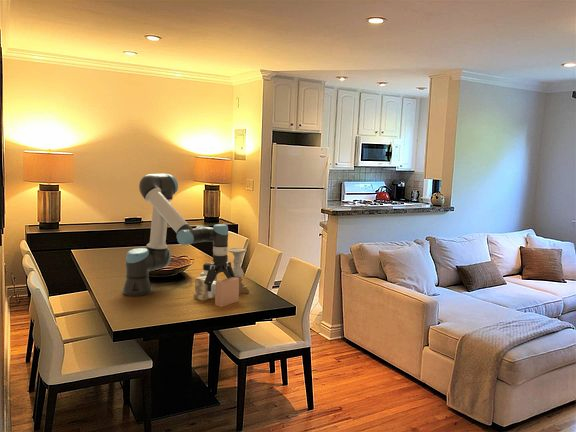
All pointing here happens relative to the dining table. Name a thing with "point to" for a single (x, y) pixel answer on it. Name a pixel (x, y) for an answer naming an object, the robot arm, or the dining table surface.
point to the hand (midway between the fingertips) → (219, 294)
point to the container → (206, 270)
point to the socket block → (227, 291)
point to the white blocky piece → (201, 289)
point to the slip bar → (213, 287)
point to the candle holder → (238, 268)
